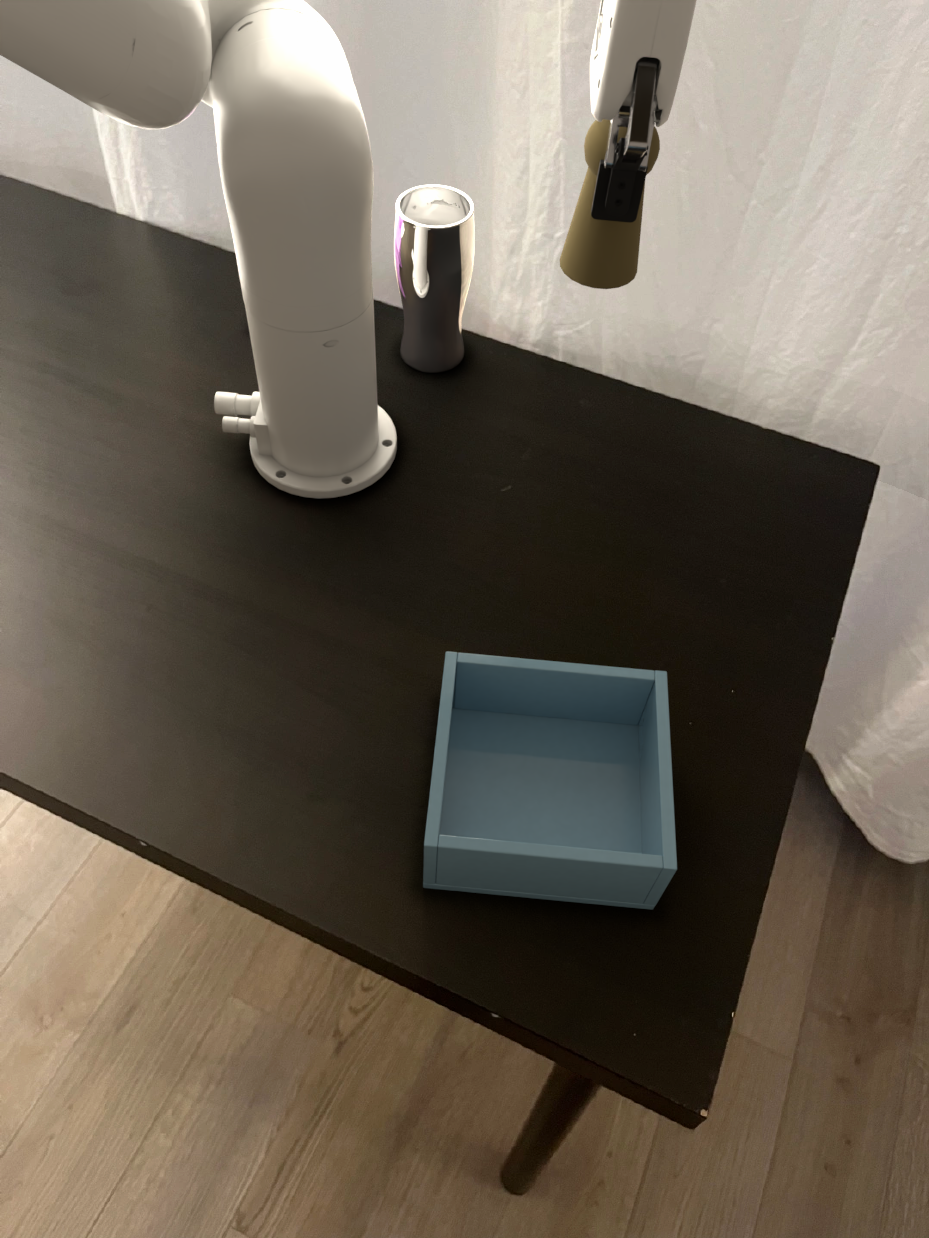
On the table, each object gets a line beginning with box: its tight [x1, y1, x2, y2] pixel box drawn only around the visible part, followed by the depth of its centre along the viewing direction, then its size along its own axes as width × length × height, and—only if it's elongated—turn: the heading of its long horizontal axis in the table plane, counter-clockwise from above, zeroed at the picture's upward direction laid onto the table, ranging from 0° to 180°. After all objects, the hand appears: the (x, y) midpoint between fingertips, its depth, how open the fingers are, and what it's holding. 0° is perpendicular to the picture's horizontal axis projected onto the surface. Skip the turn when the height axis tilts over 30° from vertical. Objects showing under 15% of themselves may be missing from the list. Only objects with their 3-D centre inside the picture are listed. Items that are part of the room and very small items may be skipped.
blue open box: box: [422, 650, 678, 911], centre depth 61 cm, size 15×14×7 cm
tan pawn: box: [559, 112, 661, 290], centre depth 69 cm, size 6×6×11 cm
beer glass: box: [393, 184, 476, 374], centre depth 85 cm, size 7×7×15 cm
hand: (612, 193), depth 69 cm, fingers closed on tan pawn, 5 cm apart
